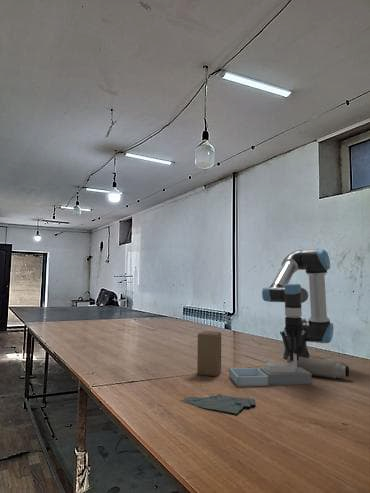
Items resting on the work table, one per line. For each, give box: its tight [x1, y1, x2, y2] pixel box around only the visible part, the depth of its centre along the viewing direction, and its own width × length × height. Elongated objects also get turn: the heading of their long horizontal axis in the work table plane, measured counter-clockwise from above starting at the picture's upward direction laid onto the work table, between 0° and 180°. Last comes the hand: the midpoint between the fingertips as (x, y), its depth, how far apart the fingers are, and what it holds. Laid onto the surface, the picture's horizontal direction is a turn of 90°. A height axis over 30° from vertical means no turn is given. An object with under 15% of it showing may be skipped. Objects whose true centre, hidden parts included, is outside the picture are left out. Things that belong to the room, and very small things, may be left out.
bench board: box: [259, 367, 313, 386], centre depth 170 cm, size 20×12×4 cm, turn 96°
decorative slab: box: [180, 393, 256, 416], centre depth 136 cm, size 26×24×2 cm
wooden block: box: [196, 330, 222, 377], centre depth 182 cm, size 10×10×20 cm
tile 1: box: [265, 362, 283, 373], centre depth 170 cm, size 6×6×3 cm
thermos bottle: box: [286, 356, 350, 379], centre depth 179 cm, size 8×8×28 cm
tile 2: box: [278, 362, 295, 372], centre depth 170 cm, size 6×6×3 cm
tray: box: [228, 367, 270, 388], centre depth 168 cm, size 14×16×4 cm
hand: (294, 367), depth 170 cm, fingers closed
